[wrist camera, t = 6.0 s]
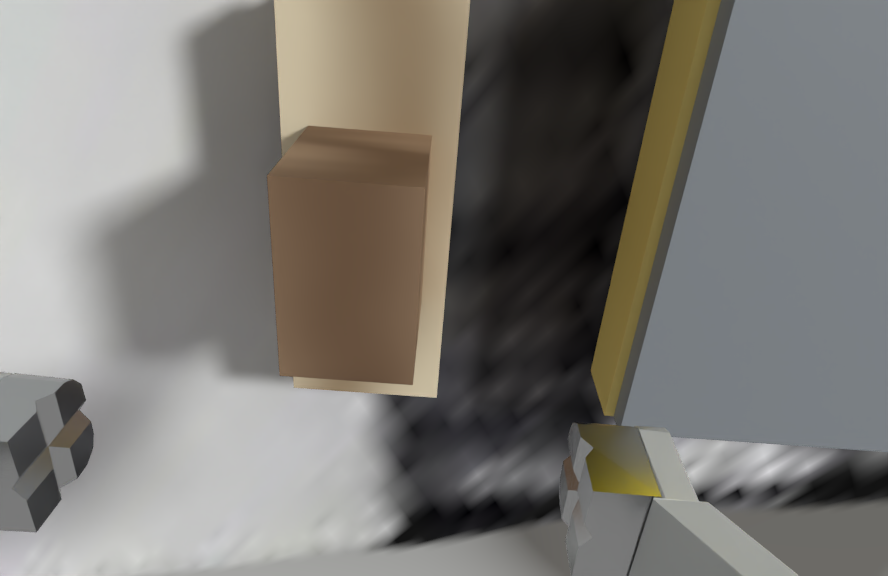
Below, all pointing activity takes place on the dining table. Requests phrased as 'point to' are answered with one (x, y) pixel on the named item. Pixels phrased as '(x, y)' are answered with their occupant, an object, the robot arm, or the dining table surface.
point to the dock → (758, 232)
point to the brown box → (349, 253)
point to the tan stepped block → (382, 117)
